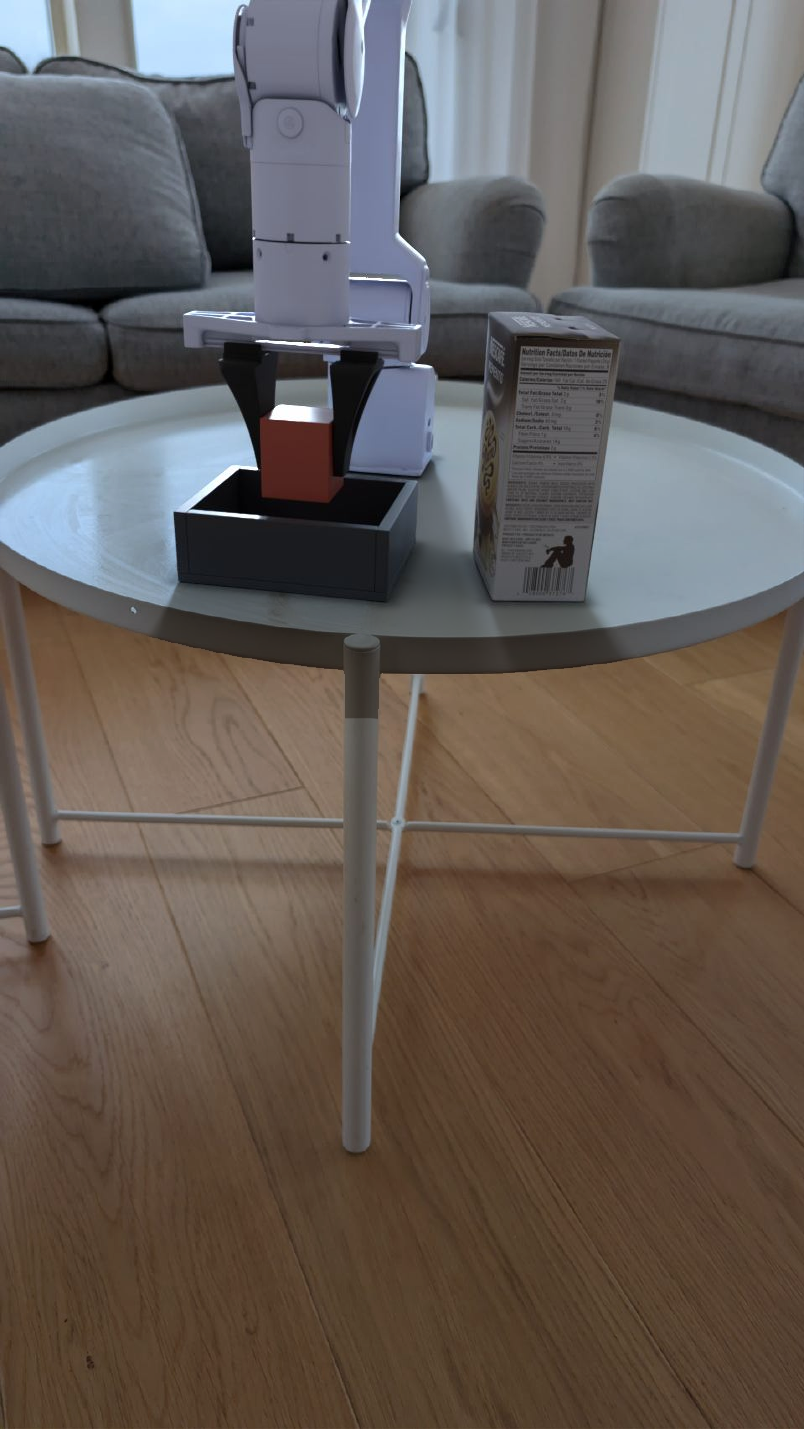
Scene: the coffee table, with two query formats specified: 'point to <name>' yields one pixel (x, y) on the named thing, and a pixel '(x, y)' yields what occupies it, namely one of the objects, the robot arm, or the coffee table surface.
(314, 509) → the open box
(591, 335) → the grey cardboard tall box
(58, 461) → the coffee table surface
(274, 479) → the block
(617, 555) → the coffee table surface
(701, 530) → the coffee table surface
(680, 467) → the coffee table surface
